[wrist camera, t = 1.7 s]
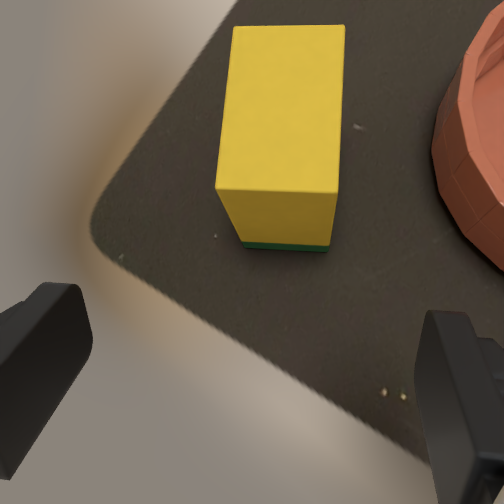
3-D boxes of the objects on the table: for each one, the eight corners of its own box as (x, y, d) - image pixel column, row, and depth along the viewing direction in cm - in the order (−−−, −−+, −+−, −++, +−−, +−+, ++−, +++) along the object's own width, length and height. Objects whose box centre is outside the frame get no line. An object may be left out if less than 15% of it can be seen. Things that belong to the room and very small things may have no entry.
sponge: (244, 248, 24) (214, 188, 17) (255, 128, 26) (233, 25, 18) (328, 252, 24) (338, 193, 16) (334, 130, 25) (345, 23, 18)
